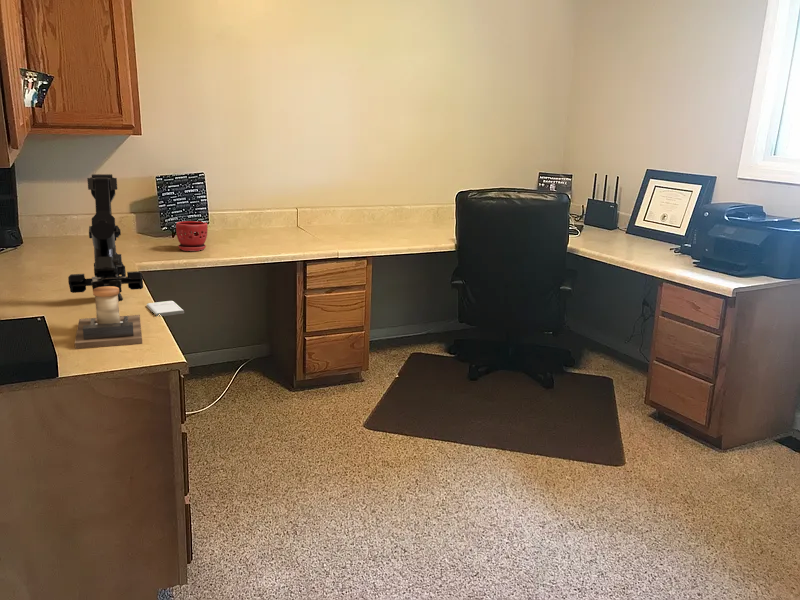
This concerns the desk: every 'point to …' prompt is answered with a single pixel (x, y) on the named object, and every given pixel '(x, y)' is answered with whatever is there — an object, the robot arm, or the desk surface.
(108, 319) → the knob slider
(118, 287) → the robot arm
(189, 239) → the plant pot
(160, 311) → the external hard drive
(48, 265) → the desk surface
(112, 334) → the grey slider guide rails
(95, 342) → the track board
